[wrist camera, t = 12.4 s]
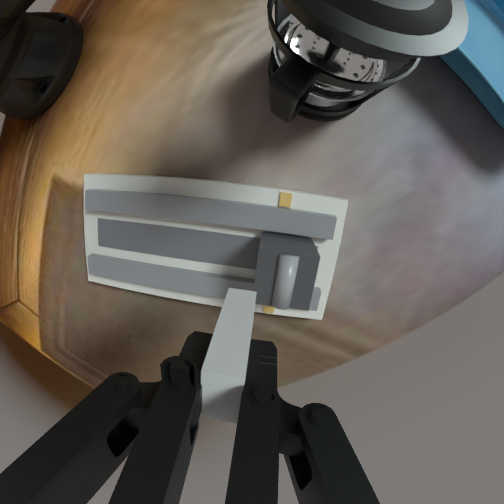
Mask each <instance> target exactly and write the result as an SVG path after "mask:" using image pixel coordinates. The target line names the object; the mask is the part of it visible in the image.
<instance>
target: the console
mask: <svg viewBox="0 0 504 504" xmlns="http://www.w3.org/2000/svg"><path fill="white" fill-rule="evenodd" d="M347 205H348V200H346V199H344V198H339V197H334V196H328V195H322V194H316V193H310V192H303V191H297V190H290V189H283V188H276V187H269V186H261V185H253V184H245V183H236V182H227V181H217V180H207V179H196V178H183V177H170V176H154V175H134V174H104V173H91V174H84V233H85V249H86V261H87V271H88V280H89V281H92V282H96V283H100V284H105V285H109V286H114V287H118V288H123V289H127V290H132V291H137V292H142V293H147V294H152V295H157V296H162V297H167V298H172V299H178V300H183V301H189V302H195V303H201V304H206V305H213V306H219V307H222V306H223V304H224V301H225V298H226V295H227V292H228V289H229V288H234V289H241V290H248V291H253V289H254V282H255V274H256V267H257V259H258V252H259V245H260V240H261V234H262V231H263V232H271V233H278V234H285V235H292V236H299V237H306V238H312V240H313V242H314V244H315V246H316V248H317V251H318V253H319V255H320V261H319V266H318V271H317V276H316V280H315V285H314V289H313V294H312V298H311V302H310V307H309V311H307V310H299V309H290V308H288V309H286V310H281V309H277V308H275V307H273V306H267V305H259V304H255V309H254V312H260V313H267V314H275V315H283V316H291V317H300V318H309V319H319V320H322V317H323V314H324V310H325V306H326V302H327V298H328V294H329V290H330V286H331V282H332V278H333V274H334V269H335V265H336V260H337V256H338V251H339V247H340V242H341V237H342V232H343V227H344V222H345V216H346V211H347Z"/></svg>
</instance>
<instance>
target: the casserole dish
mask: <svg viewBox="0 0 504 504" xmlns="http://www.w3.org/2000/svg"><path fill="white" fill-rule="evenodd" d="M464 2H465V5H466V9H467V14H468V31H467V34H466V36H465V39H464V41H463V42H462V43H461V44H460V45H459V46H458V47H457V48H456V49H454V50H453V51H450V52H448V53H446V54H444V55H442V56H439V57H440V58H441V59H442V60H444V61H445V62H446V63H447V65H448V66H449V67H450V68H451V69H452V70H453V71H454V72H455V73H456V74H457V75H458V76H459V77H460V78H461V79H462V80H463V82H464V83H465V84H466V85H467V86H468V87H469V88H470V90H471V91H472V92H473V93H474V94H475V95H476V97H477V98H478V99H479V100H480V101H481V103H482V104H483V105H484V106H485V107H486V109H487V110H488V111H489V112H490V114H491V115H492V116H493V117H494V119H495V120H496V121H497V122H498V123H499V124H500V126H501V127H502V128H503V129H504V0H464Z"/></svg>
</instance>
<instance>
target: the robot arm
mask: <svg viewBox="0 0 504 504" xmlns="http://www.w3.org/2000/svg"><path fill="white" fill-rule="evenodd" d="M34 1H35V0H0V112H2V113H3V114H5V115H7V116H9V117H11V118H15V119H31V118H34V117H36V116H38V115H40V114H41V113H43V112H44V111H45V110H47V109H48V108H49V107H50V106H51V105H52V104H53V103H54V101H55V100H56V99H57V98H58V96H59V95H60V94H61V92H62V91H63V89H64V88H65V86H66V85H67V83H68V81H69V79H70V78H71V76H72V74H73V72H74V69H75V67H76V65H77V62H78V59H79V56H80V53H81V49H82V43H83V31H82V27H81V25H80V23H79V22H78V21H77V20H76V19H75V18H73V17H71V16H69V15H67V14H65V13H60V12H25V11H26V10H27V9H28V8H29V6H30V5H32V4H33V2H34ZM256 294H257V292H256V291H248V290H241V289H234V288H229V289H228V292H227V295H226V298H225V301H224V304H223V306H222V309H221V312H220V315H219V318H218V321H217V324H216V327H215V330H214V333H213V334H209V333H204V332H198V331H194V332H193V333H192V334H190V335H189V336H188V337H187V339H186V341H185V344H184V346H183V348H182V351H181V352H180V355H179V356H173V357H169V358H167V359H165V360H164V361H163V362H162V363H161V364H160V366H161V375H162V381H159V382H139V380H138V379H137V377H135V376H134V375H133V374H130V373H127V372H118V373H114V374H112V375H111V376H109V377H108V378H107V379H105V380H104V381H103V382H102V383H101V384H100V385H99V386H98V387H97V388H95V389H94V390H93V391H92V392H91V393H90V394H89V395H88V396H87V397H85V398H84V399H83V400H82V401H81V402H80V403H79V404H78V405H76V406H75V407H74V408H73V409H72V410H71V411H70V412H69V413H67V414H66V415H65V416H64V417H63V418H62V419H61V420H60V421H59V422H57V423H56V424H55V425H54V426H53V427H52V428H51V429H50V430H48V432H46V433H45V434H44V435H43V436H42V437H41V438H40V439H39V440H37V441H36V442H35V443H34V444H33V445H32V446H31V447H30V448H28V449H27V450H26V451H25V452H24V453H23V454H22V455H21V456H20V457H18V458H17V459H16V460H15V461H14V462H13V463H12V464H11V465H10V466H8V467H7V468H6V469H5V470H4V471H3V472H2V473H1V474H0V504H87V503H88V501H89V500H90V499H91V498H92V497H93V496H94V495H95V493H96V492H97V491H98V490H99V489H100V488H101V487H102V485H103V484H104V483H105V482H106V481H107V480H108V478H109V477H110V476H111V475H112V474H113V472H114V471H115V470H116V469H117V468H118V467H119V465H120V464H121V463H122V462H123V461H124V459H125V458H126V457H127V456H128V455H129V456H128V458H127V461H126V463H125V465H124V467H123V470H122V472H121V474H120V477H119V479H118V482H117V484H116V486H115V489H114V491H113V494H112V496H111V499H110V501H109V504H179V501H180V497H181V493H182V489H183V485H184V482H185V477H186V474H187V470H188V466H189V463H190V459H191V455H192V451H193V447H194V444H195V440H196V436H197V432H198V429H199V417H200V414H201V417H203V418H208V419H214V420H220V421H227V422H233V423H237V429H236V436H235V442H234V449H233V455H232V461H231V468H230V474H229V481H228V487H227V493H226V499H225V504H277V503H278V471H279V453H281V454H284V457H285V460H286V464H287V467H288V470H289V473H290V477H291V480H292V483H293V486H294V489H295V493H296V496H297V498H298V502H299V504H380V503H379V501H378V499H377V497H376V495H375V493H374V491H373V489H372V487H371V484H370V482H369V480H368V478H367V476H366V474H365V473H364V470H363V468H362V467H361V464H360V462H359V460H358V458H357V456H356V454H355V453H354V450H353V448H352V446H351V444H350V442H349V440H348V438H347V436H346V434H345V432H344V430H343V428H342V426H341V424H340V422H339V420H338V418H337V416H336V414H335V413H334V411H333V410H332V409H331V408H330V407H328V406H326V405H324V404H320V403H311V404H307V405H305V406H304V407H303V408H300V407H297V406H294V405H291V404H289V403H287V402H286V401H284V400H283V399H282V398H281V397H280V396H279V394H278V391H277V348H276V347H275V345H274V343H273V342H270V341H262V340H254V339H251V333H252V325H253V317H254V309H255V302H256Z"/></svg>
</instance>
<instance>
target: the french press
mask: <svg viewBox="0 0 504 504" xmlns="http://www.w3.org/2000/svg"><path fill="white" fill-rule="evenodd" d="M274 3H275V24H274V21H273V18H272V9H273V5H274ZM267 9H268V23H269V29H270V32H271V35H272V37H273V40H274V42H273V47H272V50H271V56H270V61H269V67H268V73H269V95H270V110H271V112H272V113H274V114H275V115H276V116H278V117H279V118H281V119H282V120H283V121H285V122H286V123H290V122H291V121H292V120H293V118H294V117H295V116H296V115H297V114H298V115H300V116H303V117H306V118H308V119H313V120H318V121H331V120H337V119H340V118H343V117H346V116H348V115H349V114H351V113H352V112H354V111H355V110H356V109H357V108H358V107H359V106H360V105H361V104H362V103H364V102H365V101H367V100H368V99H370V98H371V97H373V96H375V95H376V94H378V93H379V92H381V91H383V90H384V89H386V88H388V87H389V86H391V85H392V84H394V83H396V82H397V81H399V80H401V79H402V78H404V77H406V76H408V75H409V74H410V73H411V72H412V71H413V70H414V69H415V68H416V66H417V65H418V63H419V61H420V59H421V58H431V57H437V56H442V55H444V54H446V53H448V52H450V51H453V50H454V49H456V48H457V47H458V46H459V45H460V44H461V43H462V42H463V41H464V39H465V36H466V34H467V31H468V14H467V9H466V5H465V2H464V0H268V4H267ZM406 60H410V61H409V63H408V64H406V65H405V66H403V67H402V68H400V69H399V70H397V71H396V72H394V73H393V74H391V75H390V76H388V77H387V78H386V79H384V76H385V72H386V65H387V61H406ZM383 79H384V80H383ZM382 80H383V81H382ZM309 94H310V95H313V96H316V97H318V98H321V99H326V100H330V101H340V102H342V103H341V104H338V105H335V106H329V107H321V106H315V105H311V104H309V103H306V102H305V101H306V99H307V97H308V95H309Z"/></svg>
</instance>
